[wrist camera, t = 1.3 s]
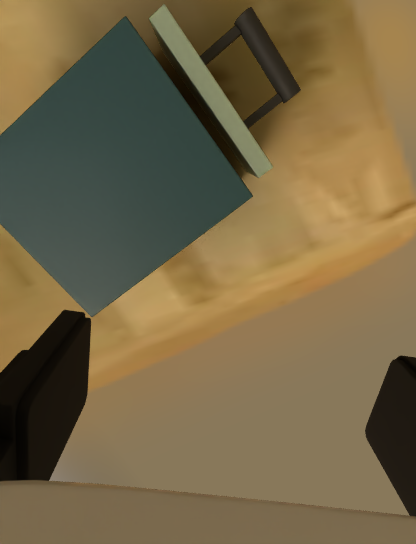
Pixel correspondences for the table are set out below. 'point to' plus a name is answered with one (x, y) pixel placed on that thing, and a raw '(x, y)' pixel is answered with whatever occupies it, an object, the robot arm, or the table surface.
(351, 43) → the table surface
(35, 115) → the small teal cabinet
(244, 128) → the drawer
